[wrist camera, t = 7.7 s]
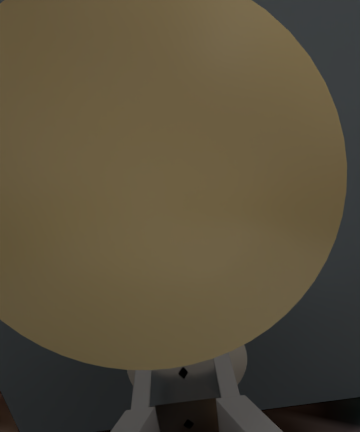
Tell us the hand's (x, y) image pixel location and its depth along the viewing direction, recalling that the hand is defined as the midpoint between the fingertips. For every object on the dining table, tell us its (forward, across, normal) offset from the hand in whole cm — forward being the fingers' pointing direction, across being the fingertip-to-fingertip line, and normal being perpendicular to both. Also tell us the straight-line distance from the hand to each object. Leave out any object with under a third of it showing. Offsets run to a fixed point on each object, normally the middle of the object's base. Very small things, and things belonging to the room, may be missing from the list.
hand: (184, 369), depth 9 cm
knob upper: (+2, 0, -5) cm, 6 cm away
